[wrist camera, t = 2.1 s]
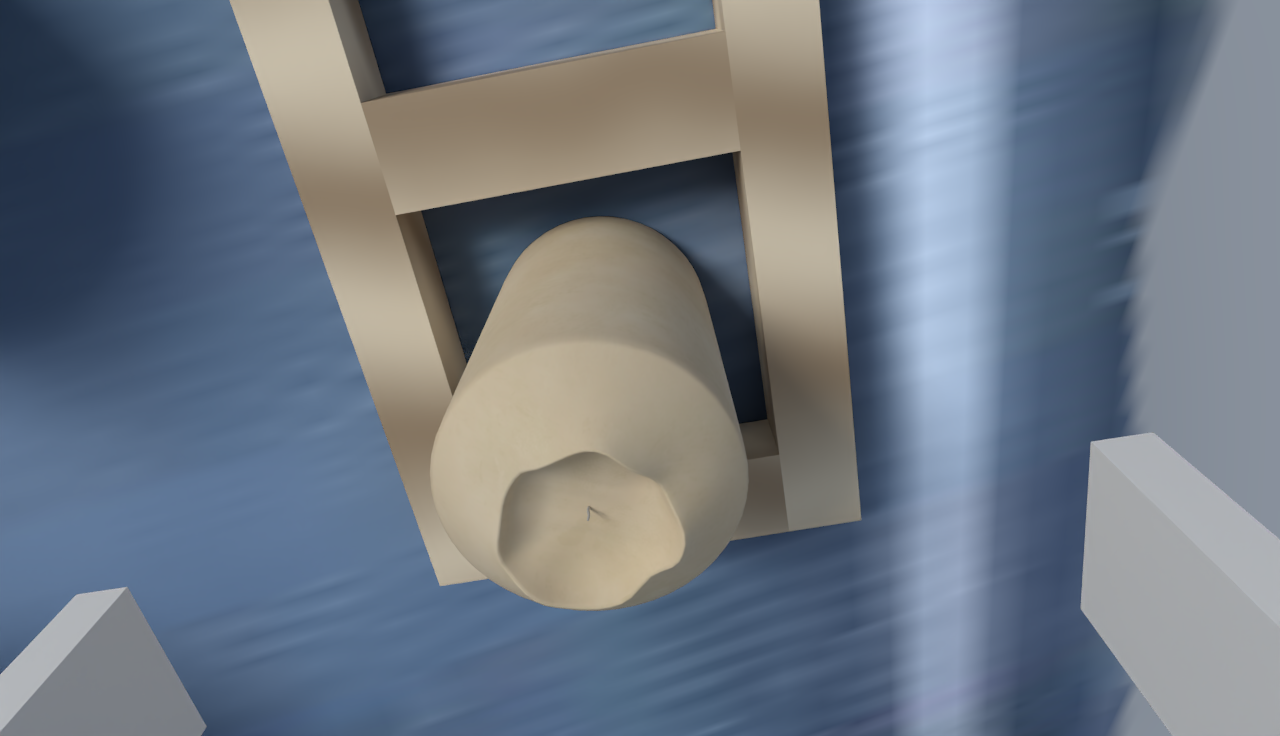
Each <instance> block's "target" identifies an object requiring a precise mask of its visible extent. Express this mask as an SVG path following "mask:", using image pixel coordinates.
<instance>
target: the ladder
mask: <svg viewBox="0 0 1280 736" xmlns="http://www.w3.org/2000/svg"><path fill="white" fill-rule="evenodd" d="M712 2H713V9H714V17H715V25H716V29H712V30H707V31H702V32H697V33H692V34H687V35H682V36H677V37H672V38H667V39H662V40H657V41H652V42H647V43H642V44H636V45H631V46H626V47H621V48H616V49H611V50H606V51H601V52H596V53H591V54H586V55H581V56H576V57H571V58H566V59H560V60H555V61H550V62H545V63H540V64H535V65H530V66H525V67H520V68H515V69H510V70H505V71H500V72H495V73H490V74H484V75H479V76H474V77H469V78H464V79H459V80H454V81H449V82H444V83H439V84H434V85H429V86H424V87H419V88H414V89H409V90H403V91H398V92H393V93H388V94H386V92H385V88H384V85H383V82H382V78H381V75H380V72H379V68H378V65H377V62H376V58H375V55H374V52H373V48H372V45H371V42H370V38H369V35H368V32H367V28H366V25H365V21H364V18H363V15H362V11H361V8H360V5H359V1H358V0H230V3H231V6H232V9H233V11H234V14H235V17H236V20H237V22H238V25H239V28H240V31H241V34H242V36H243V39H244V42H245V45H246V48H247V50H248V53H249V56H250V59H251V61H252V64H253V67H254V70H255V73H256V75H257V78H258V81H259V84H260V86H261V89H262V92H263V95H264V98H265V100H266V103H267V106H268V109H269V111H270V114H271V117H272V120H273V123H274V125H275V128H276V131H277V134H278V137H279V139H280V142H281V145H282V148H283V150H284V153H285V156H286V159H287V162H288V164H289V167H290V170H291V173H292V175H293V178H294V181H295V184H296V187H297V189H298V192H299V195H300V198H301V201H302V203H303V206H304V209H305V212H306V214H307V217H308V220H309V223H310V226H311V228H312V231H313V234H314V237H315V239H316V242H317V245H318V248H319V251H320V253H321V256H322V259H323V262H324V264H325V267H326V270H327V273H328V276H329V278H330V281H331V284H332V287H333V290H334V292H335V295H336V298H337V301H338V303H339V306H340V309H341V312H342V315H343V317H344V320H345V323H346V326H347V328H348V331H349V334H350V337H351V340H352V342H353V345H354V348H355V351H356V353H357V356H358V359H359V362H360V365H361V367H362V370H363V373H364V376H365V379H366V381H367V384H368V387H369V390H370V392H371V395H372V398H373V401H374V404H375V406H376V409H377V412H378V415H379V417H380V420H381V423H382V426H383V429H384V431H385V434H386V437H387V440H388V443H389V445H390V448H391V451H392V454H393V456H394V459H395V462H396V465H397V468H398V470H399V473H400V476H401V479H402V481H403V484H404V487H405V490H406V493H407V495H408V498H409V501H410V504H411V506H412V509H413V512H414V515H415V518H416V520H417V523H418V526H419V529H420V532H421V534H422V537H423V540H424V543H425V545H426V548H427V551H428V554H429V557H430V559H431V562H432V565H433V568H434V570H435V573H436V576H437V579H438V582H439V584H440V586H444V585H451V584H457V583H463V582H470V581H476V580H483V579H488V578H487V577H486V576H485V575H483V574H482V573H481V572H480V571H478V570H477V569H476V568H475V567H474V566H473V565H472V564H471V563H470V562H469V561H468V560H467V559H466V558H465V557H464V556H463V555H462V554H461V553H460V551H459V550H458V549H457V548H456V546H455V545H454V544H453V542H452V541H451V540H450V538H449V536H448V534H447V533H446V531H445V529H444V527H443V526H442V523H441V521H440V518H439V516H438V513H437V511H436V508H435V504H434V500H433V496H432V492H431V481H430V464H431V454H432V449H433V445H434V441H435V437H436V434H437V432H438V430H439V427H440V425H441V422H442V420H443V417H444V415H445V413H446V411H447V408H448V406H449V404H450V402H451V399H452V397H453V395H454V393H455V390H456V388H457V386H458V384H459V382H460V379H461V377H462V375H463V373H464V370H465V368H466V366H467V363H466V359H465V356H464V353H463V349H462V346H461V343H460V339H459V336H458V333H457V329H456V326H455V323H454V319H453V316H452V313H451V309H450V306H449V303H448V299H447V296H446V293H445V289H444V286H443V283H442V279H441V276H440V272H439V269H438V266H437V262H436V259H435V256H434V252H433V249H432V246H431V242H430V239H429V236H428V232H427V229H426V226H425V222H424V219H423V216H422V212H421V210H426V209H431V208H437V207H442V206H447V205H453V204H458V203H463V202H469V201H474V200H479V199H485V198H490V197H495V196H501V195H506V194H511V193H517V192H522V191H527V190H533V189H538V188H543V187H549V186H554V185H559V184H565V183H570V182H575V181H581V180H586V179H591V178H597V177H602V176H607V175H613V174H618V173H623V172H629V171H634V170H639V169H645V168H650V167H655V166H661V165H666V164H671V163H677V162H682V161H687V160H693V159H698V158H703V157H709V156H714V155H719V154H725V153H730V152H732V154H733V161H734V169H735V177H736V184H737V192H738V199H739V207H740V215H741V222H742V230H743V237H744V245H745V252H746V260H747V268H748V275H749V283H750V290H751V298H752V306H753V313H754V321H755V328H756V336H757V344H758V351H759V359H760V366H761V374H762V382H763V389H764V397H765V404H766V412H767V419H766V420H760V421H753V422H747V423H741V424H739V427H740V430H741V434H742V438H743V442H744V446H745V451H746V456H747V462H748V478H749V483H748V492H747V500H746V503H745V507H744V511H743V515H742V517H741V520H740V522H739V524H738V527H737V529H736V531H735V533H734V535H733V536H732V538H731V540H730V541H732V540H738V539H744V538H751V537H757V536H764V535H770V534H776V533H783V532H789V531H795V530H802V529H808V528H815V527H821V526H827V525H834V524H840V523H847V522H853V521H859V520H861V510H860V497H859V485H858V473H857V461H856V448H855V436H854V424H853V411H852V399H851V387H850V374H849V362H848V350H847V337H846V325H845V313H844V301H843V288H842V276H841V264H840V251H839V239H838V227H837V214H836V202H835V190H834V177H833V165H832V153H831V141H830V128H829V116H828V104H827V91H826V79H825V67H824V54H823V42H822V30H821V17H820V5H819V0H712Z"/></svg>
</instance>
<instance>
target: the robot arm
mask: <svg viewBox="0 0 1280 736" xmlns="http://www.w3.org/2000/svg"><path fill="white" fill-rule="evenodd" d="M1081 610H1082V611H1083V613H1084V614H1085V615H1086V617H1087V618H1088V619H1089V621H1090V622H1091V624H1092V625H1093V626H1094V628H1095V629H1096V631H1097V632H1098V633H1099V635H1100V636H1101V637H1102V639H1103V640H1104V642H1105V643H1106V644H1107V646H1108V647H1109V649H1110V650H1111V651H1112V653H1113V654H1114V656H1115V657H1116V658H1117V660H1118V661H1119V662H1120V664H1121V665H1122V667H1123V668H1124V669H1125V671H1126V672H1127V674H1128V675H1129V676H1130V678H1131V679H1132V681H1133V682H1134V683H1135V685H1136V686H1137V687H1138V689H1139V690H1140V692H1141V693H1142V694H1143V696H1144V697H1145V699H1146V700H1147V701H1148V703H1149V704H1150V705H1151V707H1152V708H1153V710H1154V711H1155V712H1156V714H1157V715H1158V717H1159V718H1160V719H1161V721H1162V722H1163V724H1164V725H1165V726H1166V728H1167V729H1168V730H1169V732H1170V733H1171V735H1172V736H1280V539H1279V538H1277V537H1276V536H1275V535H1274V534H1273V533H1272V532H1270V531H1269V530H1268V529H1267V528H1266V527H1264V526H1263V525H1262V524H1261V523H1260V522H1259V521H1257V520H1256V519H1255V518H1254V517H1253V516H1251V515H1250V514H1249V513H1248V512H1247V511H1245V510H1244V509H1243V508H1242V507H1241V506H1240V505H1238V504H1237V503H1236V502H1235V501H1234V500H1233V499H1231V498H1230V497H1229V496H1228V495H1226V494H1225V493H1224V492H1223V491H1222V490H1221V489H1219V488H1218V487H1217V486H1216V485H1215V484H1214V483H1212V482H1211V481H1210V480H1209V479H1208V478H1206V477H1205V476H1204V475H1203V474H1202V473H1200V472H1199V471H1198V470H1197V469H1196V468H1195V467H1193V466H1192V465H1191V464H1190V463H1189V462H1187V461H1186V460H1185V459H1184V458H1183V457H1182V456H1180V455H1179V454H1178V453H1177V452H1176V451H1175V450H1173V449H1172V448H1171V447H1170V446H1169V445H1167V444H1166V443H1165V442H1164V441H1163V440H1162V439H1160V438H1159V437H1158V436H1157V435H1156V434H1154V433H1146V434H1139V435H1132V436H1126V437H1119V438H1112V439H1106V440H1099V441H1093V442H1091V449H1090V465H1089V481H1088V498H1087V514H1086V530H1085V546H1084V563H1083V579H1082V595H1081ZM206 727H207V726H206V725H205V723H204V721H203V719H202V718H201V716H200V714H199V712H198V711H197V709H196V707H195V705H194V704H193V702H192V700H191V698H190V697H189V695H188V693H187V691H186V689H185V688H184V686H183V684H182V682H181V681H180V679H179V677H178V675H177V674H176V672H175V670H174V668H173V667H172V665H171V663H170V661H169V660H168V658H167V656H166V654H165V653H164V651H163V649H162V647H161V645H160V644H159V642H158V640H157V638H156V637H155V635H154V633H153V631H152V630H151V628H150V626H149V624H148V623H147V621H146V619H145V617H144V616H143V614H142V612H141V610H140V608H139V607H138V605H137V603H136V601H135V600H134V598H133V596H132V594H131V593H130V591H129V589H128V587H124V588H117V589H110V590H104V591H97V592H91V593H84V594H77V595H76V596H75V597H74V598H73V599H72V600H71V601H70V602H69V603H68V604H67V605H66V606H65V607H64V608H63V609H62V610H61V611H60V612H59V613H58V615H57V616H56V617H55V618H54V619H53V620H52V621H51V622H50V623H49V624H48V625H47V626H46V627H45V628H44V629H43V630H42V631H41V632H40V633H39V634H38V636H37V637H36V638H35V639H34V640H33V641H32V642H31V643H30V644H29V645H28V646H27V647H26V648H25V649H24V650H23V651H22V652H21V653H20V654H19V655H18V657H17V658H16V659H15V660H14V661H13V662H12V663H11V664H10V665H9V666H8V667H7V668H6V669H5V670H4V671H3V672H2V673H1V674H0V736H201V735H202V734H203V732H204V730H205V729H206Z"/></svg>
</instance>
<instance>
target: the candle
mask: <svg viewBox="0 0 1280 736" xmlns="http://www.w3.org/2000/svg"><path fill="white" fill-rule="evenodd" d="M430 481H431V492H432V496H433V500H434V504H435V508H436V511H437V513H438V516H439V518H440V521H441V523H442V526H443V527H444V529H445V531H446V533H447V534H448V536H449V538H450V540H451V541H452V542H453V544H454V545H455V546H456V548H457V549H458V550H459V551H460V553H461V554H462V555H463V556H464V557H465V558H466V559H467V560H468V561H469V562H470V563H471V564H472V565H473V566H474V567H475V568H476V569H477V570H478V571H480V572H481V573H482V574H483V575H485V576H486V577H487V578H488V579H490V580H491V581H493V582H495V583H496V584H498V585H500V586H501V587H503V588H504V589H506V590H508V591H510V592H513V593H515V594H517V595H519V596H521V597H523V598H526V599H529V600H532V601H535V602H537V603H540V604H542V605H545V606H549V607H555V608H564V609H572V610H586V611H600V610H613V609H620V608H625V607H631V606H636V605H639V604H642V603H646V602H649V601H652V600H655V599H657V598H660V597H662V596H665V595H667V594H669V593H671V592H673V591H675V590H677V589H678V588H680V587H682V586H684V585H686V584H687V583H689V582H690V581H691V580H693V579H694V578H695V577H697V576H698V575H700V574H701V573H702V572H703V571H704V570H705V569H706V568H707V567H708V566H710V565H711V564H712V563H713V562H714V561H715V560H716V558H717V557H718V556H719V555H720V554H721V552H722V551H723V550H724V549H725V547H726V546H727V544H728V543H729V541H730V540H731V538H732V536H733V535H734V533H735V531H736V529H737V527H738V524H739V522H740V520H741V517H742V515H743V511H744V507H745V503H746V500H747V492H748V483H749V478H748V462H747V456H746V451H745V446H744V442H743V438H742V434H741V430H740V427H739V423H738V419H737V415H736V411H735V408H734V404H733V400H732V396H731V392H730V389H729V385H728V381H727V377H726V373H725V370H724V366H723V362H722V358H721V354H720V351H719V347H718V343H717V339H716V336H715V332H714V328H713V324H712V320H711V317H710V313H709V309H708V305H707V301H706V298H705V295H704V292H703V289H702V286H701V284H700V281H699V278H698V276H697V274H696V272H695V270H694V268H693V267H692V265H691V264H690V262H689V261H688V259H687V258H686V257H685V255H684V254H683V253H682V252H681V251H680V250H679V249H678V248H677V247H676V246H675V245H674V244H673V243H672V242H671V241H669V240H668V239H667V238H666V237H664V236H663V235H662V234H660V233H658V232H657V231H655V230H654V229H652V228H650V227H648V226H645V225H643V224H641V223H638V222H635V221H632V220H628V219H624V218H618V217H610V216H595V217H585V218H581V219H576V220H572V221H569V222H567V223H564V224H561V225H559V226H557V227H555V228H553V229H551V230H549V231H547V232H546V233H544V234H543V235H542V236H540V237H539V238H538V239H536V240H535V241H534V242H533V243H531V244H530V245H529V246H528V247H527V248H526V249H525V250H524V251H523V253H522V254H521V255H520V256H519V258H518V259H517V260H516V262H515V263H514V265H513V267H512V269H511V270H510V272H509V274H508V276H507V278H506V280H505V281H504V284H503V286H502V288H501V290H500V293H499V295H498V297H497V299H496V301H495V304H494V306H493V308H492V310H491V313H490V315H489V317H488V319H487V321H486V324H485V326H484V328H483V330H482V333H481V335H480V337H479V339H478V341H477V344H476V346H475V348H474V350H473V353H472V355H471V357H470V359H469V361H468V364H467V366H466V368H465V370H464V373H463V375H462V377H461V379H460V382H459V384H458V386H457V388H456V390H455V393H454V395H453V397H452V399H451V402H450V404H449V406H448V408H447V411H446V413H445V415H444V417H443V420H442V422H441V425H440V427H439V430H438V432H437V434H436V437H435V441H434V445H433V449H432V454H431V464H430Z"/></svg>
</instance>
